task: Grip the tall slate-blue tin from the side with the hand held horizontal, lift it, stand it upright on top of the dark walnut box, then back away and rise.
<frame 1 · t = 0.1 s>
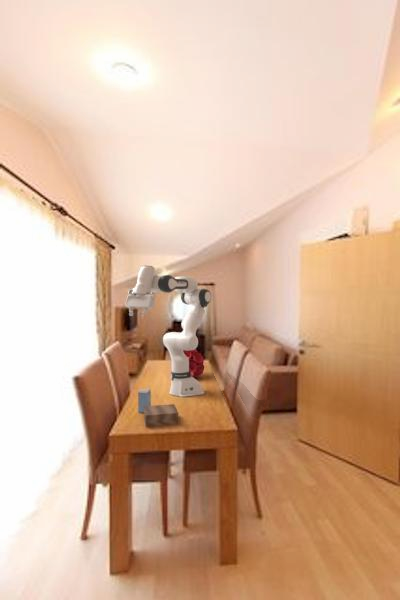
hand: (136, 316, 200), 52 cm above the table, tool tilted 20°, fingers open, 8 cm apart
bouquet: (189, 377, 274), on the table
walnut box: (160, 421, 182), on the table
slate tin: (144, 411, 197), on the table
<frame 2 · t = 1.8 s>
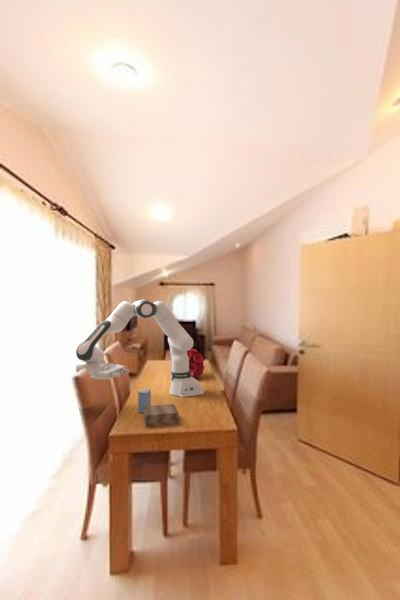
hand: (124, 373, 200), 20 cm above the table, tool horizontal, fingers open, 8 cm apart
nothing on the table moved.
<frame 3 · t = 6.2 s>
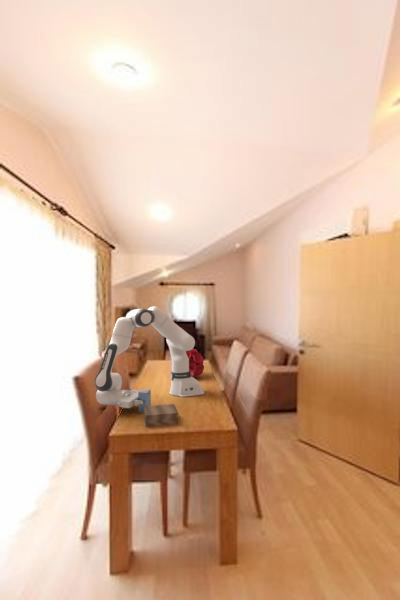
hand: (146, 400, 196), 6 cm above the table, tool horizontal, fingers closed on slate tin, 5 cm apart
slate tin: (144, 411, 197), on the table, touching gripper
everything else where it was.
when the fingers open (13 cm above the table, at t = 10.6 s): slate tin drops 2 cm, resting on walnut box.
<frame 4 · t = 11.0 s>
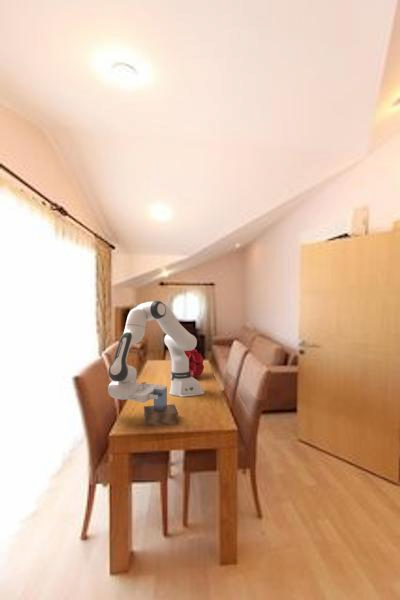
hand: (162, 394, 182), 13 cm above the table, tool horizontal, fingers open, 8 cm apart
walnut box: (160, 421, 182), on the table, touching slate tin
slate tin: (160, 409, 182), point 6 cm above the table, touching walnut box
everything else where it was.
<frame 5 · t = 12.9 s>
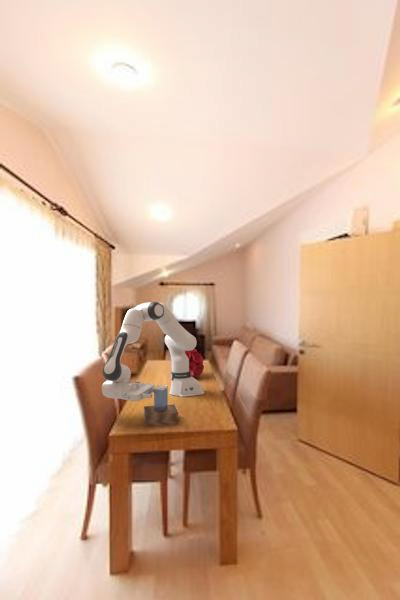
hand: (155, 393, 183), 14 cm above the table, tool horizontal, fingers open, 8 cm apart
nothing on the table moved.
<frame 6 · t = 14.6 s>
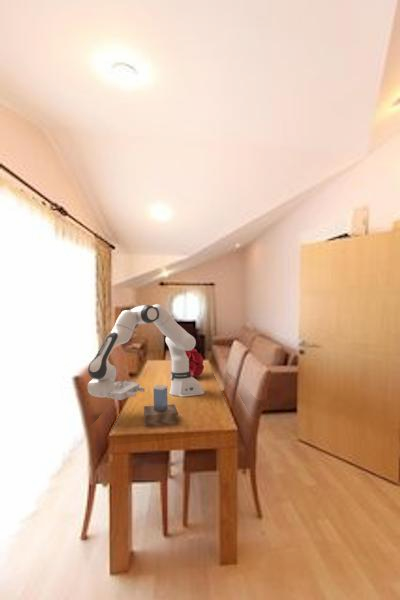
hand: (139, 392, 185), 14 cm above the table, tool horizontal, fingers open, 8 cm apart
walnut box: (160, 421, 182), on the table
slate tin: (160, 409, 182), point 6 cm above the table
everything else where it was.
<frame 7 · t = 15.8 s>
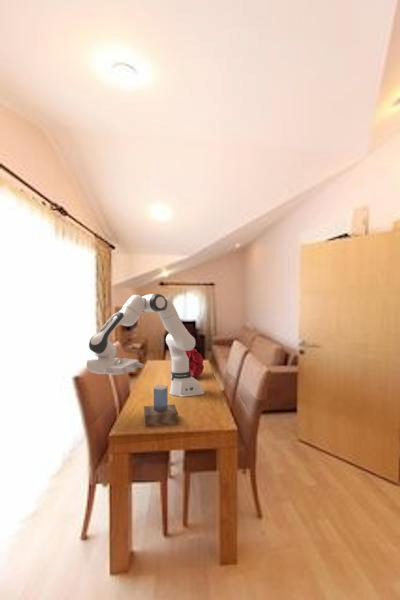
hand: (138, 367, 185), 26 cm above the table, tool horizontal, fingers open, 8 cm apart
walnut box: (160, 421, 182), on the table, touching slate tin
slate tin: (160, 409, 182), point 6 cm above the table, touching walnut box
everything else where it was.
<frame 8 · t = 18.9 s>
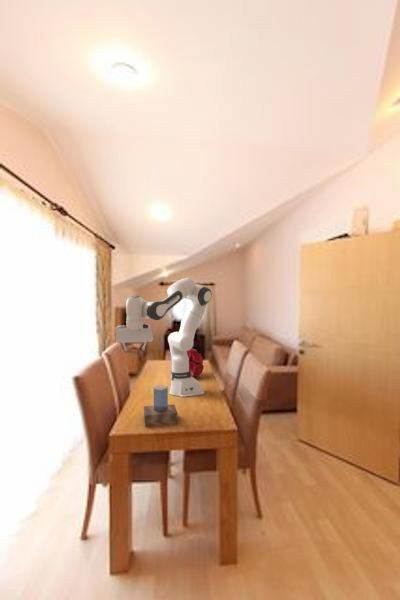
hand: (134, 350, 198), 33 cm above the table, tool pointing down, fingers open, 8 cm apart
at the end: slate tin inside the target area on the walnut box (0.4 cm from its centre), point 6.0 cm above the walnut box's base; slate tin tilted 0°; the gripper is holding nothing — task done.
